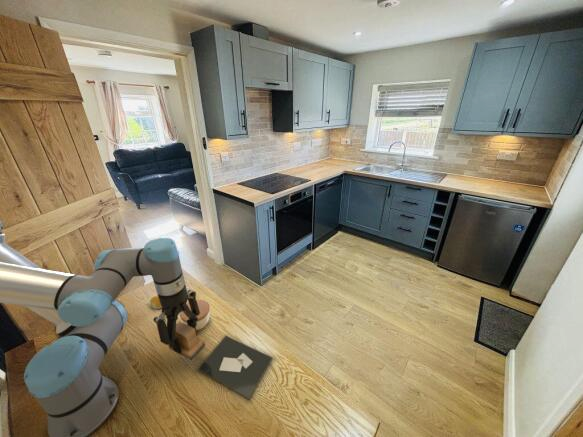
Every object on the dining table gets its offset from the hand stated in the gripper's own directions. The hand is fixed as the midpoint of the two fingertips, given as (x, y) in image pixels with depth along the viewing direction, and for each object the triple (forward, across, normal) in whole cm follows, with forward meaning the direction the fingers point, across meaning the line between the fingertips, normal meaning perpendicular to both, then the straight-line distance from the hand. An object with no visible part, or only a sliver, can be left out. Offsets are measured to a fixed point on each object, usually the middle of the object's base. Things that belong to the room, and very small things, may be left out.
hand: (186, 342), depth 78 cm
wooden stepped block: (+2, 0, 0) cm, 2 cm away
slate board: (+8, +5, -16) cm, 18 cm away
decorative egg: (+8, 0, +40) cm, 41 cm away
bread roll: (+8, +14, +31) cm, 35 cm away
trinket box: (+8, +12, +8) cm, 16 cm away
